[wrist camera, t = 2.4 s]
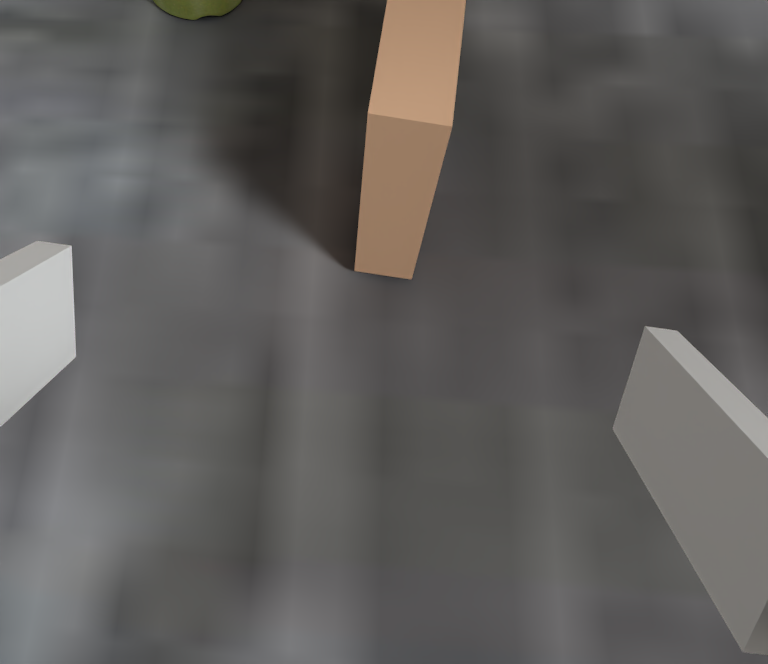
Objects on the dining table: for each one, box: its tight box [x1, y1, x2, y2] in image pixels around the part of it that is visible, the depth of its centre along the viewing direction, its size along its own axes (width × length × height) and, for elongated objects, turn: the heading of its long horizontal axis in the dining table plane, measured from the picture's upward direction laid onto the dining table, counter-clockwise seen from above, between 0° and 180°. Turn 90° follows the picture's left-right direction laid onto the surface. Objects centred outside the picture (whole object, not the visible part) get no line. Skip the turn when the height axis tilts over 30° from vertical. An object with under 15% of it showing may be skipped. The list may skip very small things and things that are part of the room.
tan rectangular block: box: [354, 0, 466, 280], centre depth 30 cm, size 3×7×12 cm, turn 173°
